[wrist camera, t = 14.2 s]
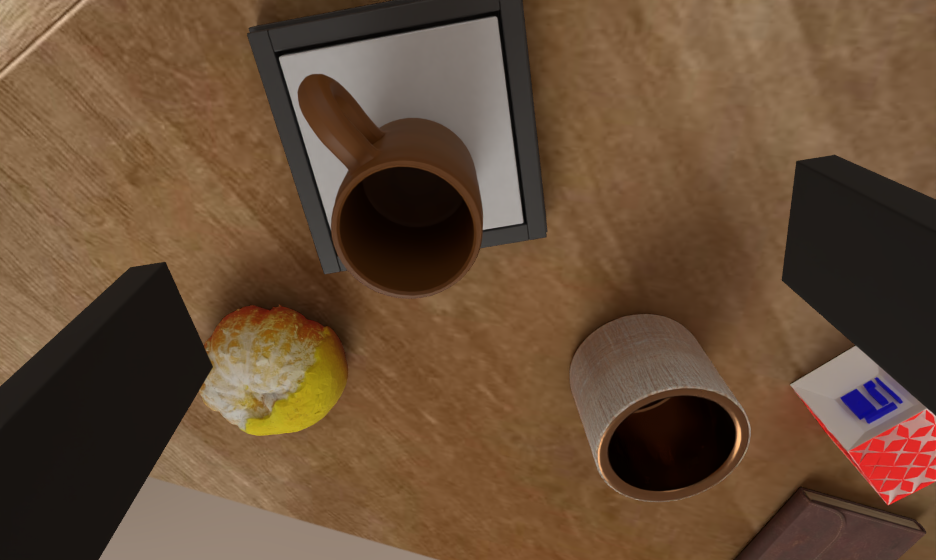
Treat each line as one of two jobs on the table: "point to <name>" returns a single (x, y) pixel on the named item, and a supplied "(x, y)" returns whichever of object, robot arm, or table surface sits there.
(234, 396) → the fruit
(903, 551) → the notebook
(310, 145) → the scale pan
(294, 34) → the scale
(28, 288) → the table surface
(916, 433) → the red and white box
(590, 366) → the planter
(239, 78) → the table surface
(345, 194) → the mug
